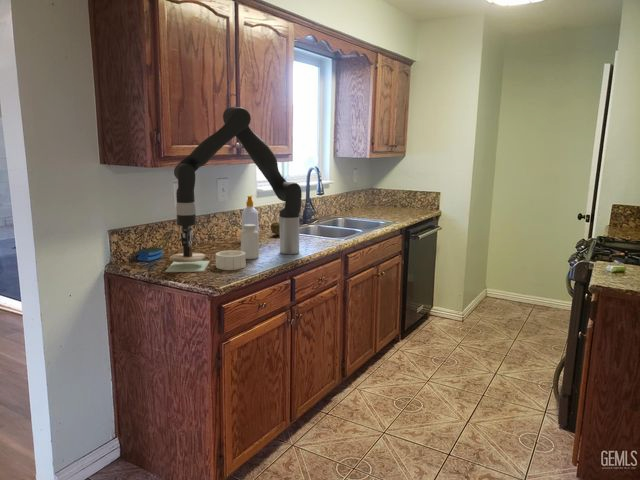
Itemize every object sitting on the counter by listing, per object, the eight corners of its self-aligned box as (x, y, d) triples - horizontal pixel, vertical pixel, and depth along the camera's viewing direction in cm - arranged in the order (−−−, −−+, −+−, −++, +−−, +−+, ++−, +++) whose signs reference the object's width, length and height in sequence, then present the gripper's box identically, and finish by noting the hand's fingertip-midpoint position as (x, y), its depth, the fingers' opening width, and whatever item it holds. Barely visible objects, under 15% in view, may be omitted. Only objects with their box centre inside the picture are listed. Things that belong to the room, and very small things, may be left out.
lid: (174, 254, 207) (173, 241, 206) (207, 254, 208) (207, 240, 207) (166, 262, 193) (166, 247, 192) (202, 262, 195) (202, 247, 194)
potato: (291, 234, 277) (291, 220, 276) (277, 238, 267) (277, 223, 265) (279, 233, 282) (279, 219, 280) (265, 236, 271) (265, 222, 270)
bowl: (218, 263, 208) (217, 250, 207) (246, 262, 210) (246, 250, 208) (214, 270, 197) (214, 256, 196) (244, 269, 198) (244, 256, 197)
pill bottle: (251, 260, 214) (250, 226, 211) (237, 258, 218) (236, 225, 215) (262, 257, 221) (262, 224, 218) (248, 254, 225) (248, 222, 222)
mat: (174, 262, 209) (174, 261, 209) (209, 261, 211) (209, 260, 210) (165, 272, 193) (165, 270, 193) (203, 271, 194) (203, 270, 194)
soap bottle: (260, 239, 263) (259, 195, 259) (256, 242, 254) (255, 197, 250) (245, 238, 264) (244, 194, 260) (240, 241, 255) (239, 196, 251)
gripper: (192, 215, 191) (194, 258, 194) (198, 211, 205) (199, 251, 208) (173, 215, 190) (175, 258, 193) (180, 211, 204) (181, 251, 207)
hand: (187, 254), depth 201 cm, fingers closed on lid, 3 cm apart
